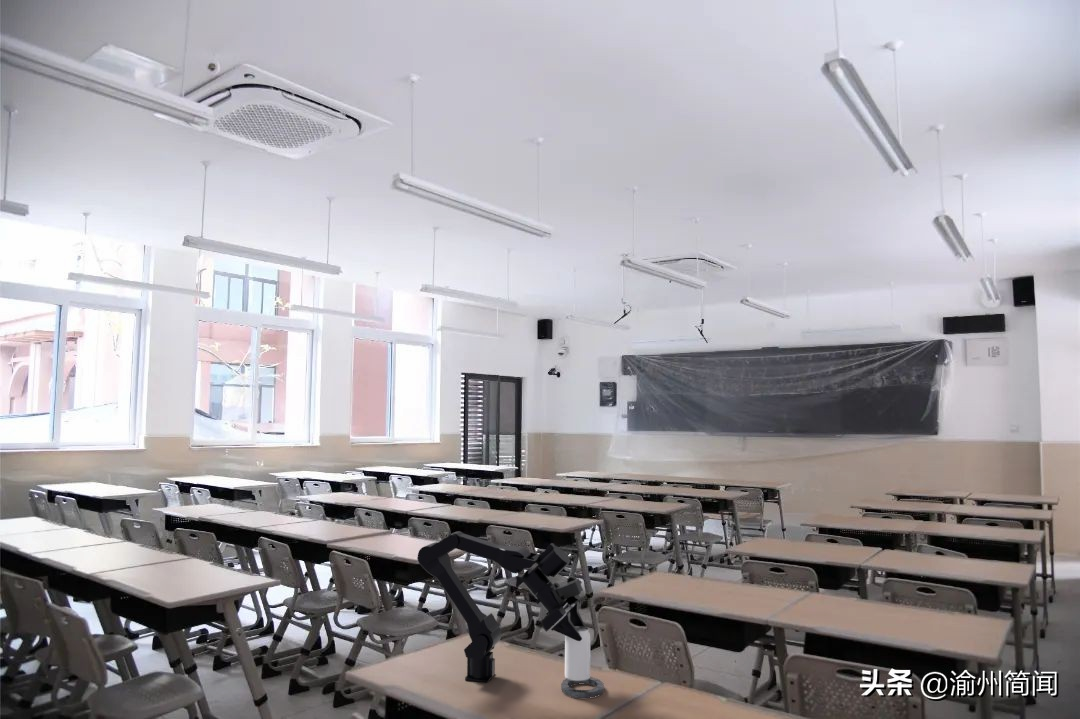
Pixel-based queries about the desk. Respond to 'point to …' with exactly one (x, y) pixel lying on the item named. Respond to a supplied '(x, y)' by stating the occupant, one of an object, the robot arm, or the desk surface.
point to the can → (578, 656)
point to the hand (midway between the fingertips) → (583, 636)
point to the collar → (583, 693)
